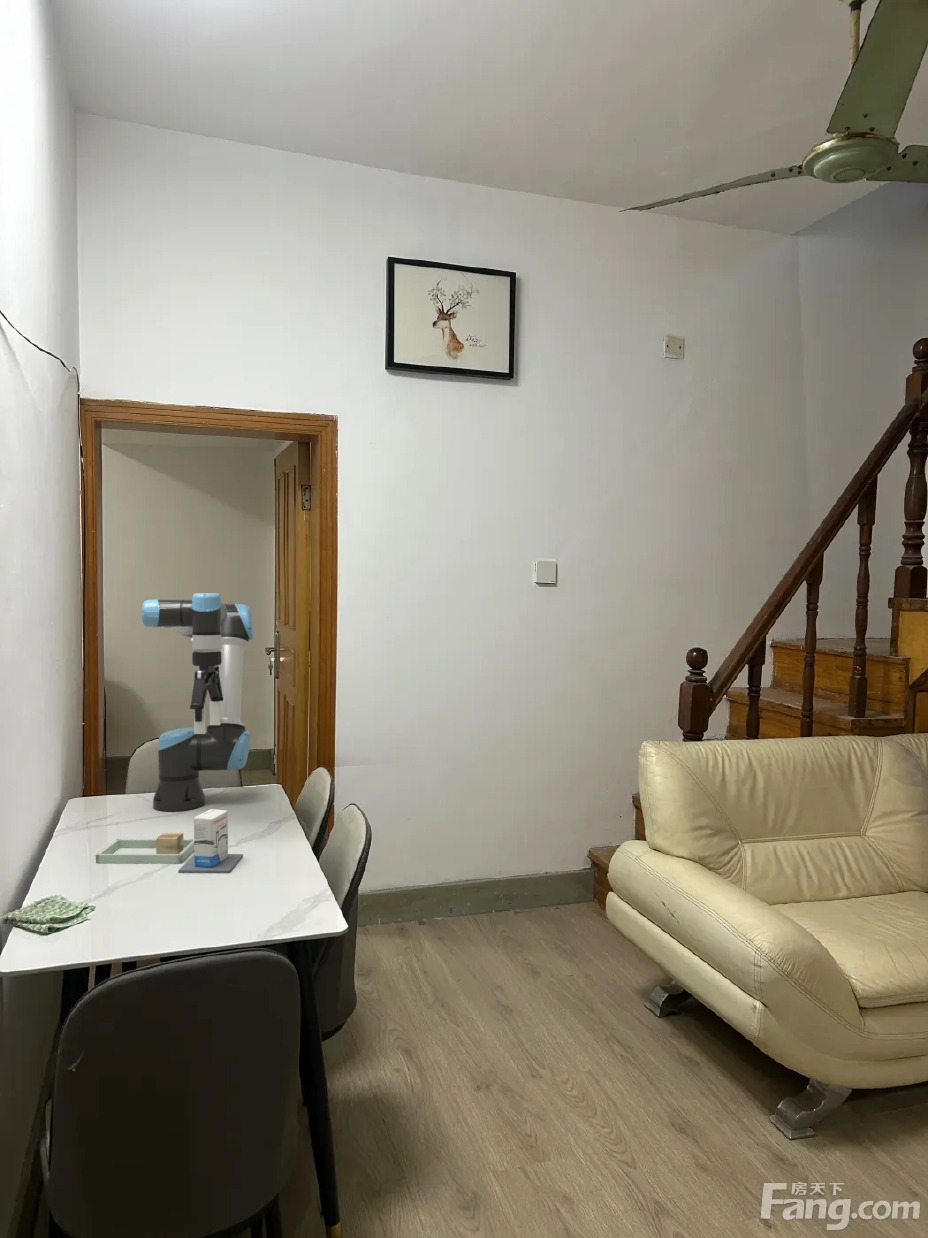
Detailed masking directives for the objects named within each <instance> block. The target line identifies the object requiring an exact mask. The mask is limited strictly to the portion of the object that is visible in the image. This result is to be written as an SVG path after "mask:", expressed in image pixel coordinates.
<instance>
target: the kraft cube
mask: <svg viewBox="0 0 928 1238" xmlns="http://www.w3.org/2000/svg"><path fill="white" fill-rule="evenodd" d="M155 839H156V848H155V854H179V853H180V852H181V851H182V850H183V849H184V848H183V839H184V832H162V833H161V834H160V835H159V836H158V837H156V838H155Z"/></svg>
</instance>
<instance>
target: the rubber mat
mask: <svg viewBox="0 0 928 1238" xmlns="http://www.w3.org/2000/svg"><path fill="white" fill-rule="evenodd" d="M243 857H244V853H228V857H227V858H226V859H224V860H223V861H221V862H220V863H218V864H217V865H215V866H214V867H198V866H195V860H194V854H193V855H192V856H191V857H190V858H189V859H188V860H187V861H186V862H185V863H184V864H183V865H182V866H181V867H180V868H179V869H178V874H230V873H231V872H232V870H234V869H235V868H236V865H238V864H239V862H240V861H241V860H242V858H243Z"/></svg>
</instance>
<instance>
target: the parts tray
mask: <svg viewBox="0 0 928 1238" xmlns="http://www.w3.org/2000/svg"><path fill="white" fill-rule="evenodd" d="M118 849H156V838H151V839H149V838H148V839H147V838H145V839H144V838H136V839H135V838H127V839H126V838H123V839H122V838H117V839H115V840H114V841H113V842H111V843H110V844H109V845H107V846H105V848H103V849H101V850H100V851H99V852H98V853H96V854H95V864H182V863H183V862H184V860H185V859H187V858H188V857H189V856H190V855H191V854H192V853H194V838H193V839H190V838H189V839H188V838H186V839H185V838H183V850H182V851H181V852H180V853H179V854H156V853H114V852H115V851H117V850H118Z"/></svg>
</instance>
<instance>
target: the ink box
mask: <svg viewBox="0 0 928 1238" xmlns="http://www.w3.org/2000/svg"><path fill="white" fill-rule="evenodd" d="M228 818H229V811H228V810H226V809H225V810H224V809H223V810H222V809H215V808H214V809H213V808H212V809H208V810H207V811H204V812H202V813H200V814H198V815H195V816H194V818H193V839H194V851H193V853H194V854H193V855H194V860H195V866H198V867H214V866H215V865H217V864H218V863H220V862H221V861H223V860H224V859H226V858H227V857H228V854H229V830H228V829H229V827H228V826H229V821H228V820H229V819H228Z"/></svg>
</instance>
